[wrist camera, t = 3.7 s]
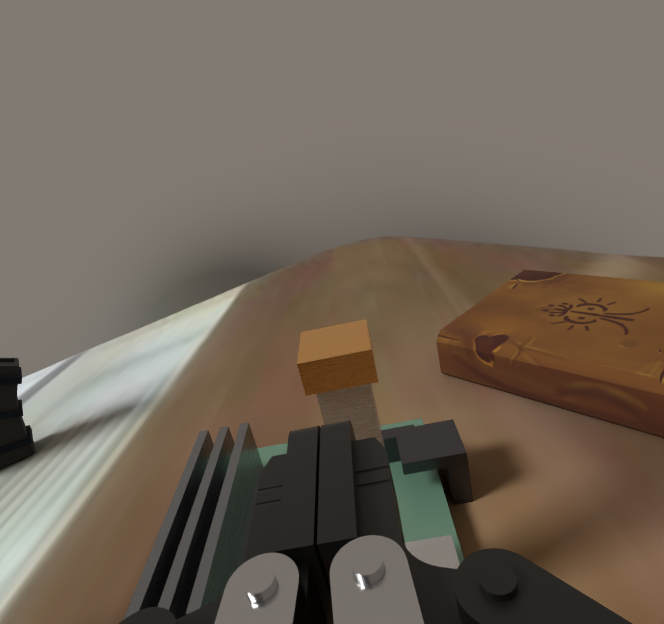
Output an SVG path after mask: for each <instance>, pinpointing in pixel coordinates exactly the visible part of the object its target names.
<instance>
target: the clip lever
mask: <svg viewBox="0 0 664 624" xmlns="http://www.w3.org/2000/svg"><path fill="white" fill-rule="evenodd" d="M297 365H298V369H299V373H300V376H301V380H302V383H303V387H304V391H305V394H306V396H307V395H312V394H317V398H318V402H319V406H320V409H321V413H322V417H323V421H324V424H325V425H327V424H332V423H337V422H342V421H347V420H350V421H351V423H352V427H353V431H354V434H355V438H356V440H361V439H366V438H371V437H375V438H376V439H377V440H378V441H379V442H380V443H381V444H382V445H383V446H384V441H383V436H382V432H381V427H380V422H379V418H378V413H377V408H376V404H375V399H374V394H373V390H372V385H371V383H375V382H378V378H377V372H376V367H375V361H374V356H373V350H372V345H371V340H370V335H369V331H368V326H367V321H366V319H365V320H360V321H355V322H350V323H345V324H340V325H335V326H330V327H325V328H320V329H315V330H310V331H306V332H301V338H300V346H299V353H298V361H297ZM384 448H385V446H384ZM403 535H404V534H403ZM404 540H405V539H404ZM405 546H406V548H407V550H408V551H409V552H410V553H411V554H412V555H413V556H415V557H416V558H417V559H419V560H421V561H423V562H425V563H427V564H430V565H434V566H439V567H446V568H453V569H457V568H458V566H459V565H460V564H459V560H458V557H457V553H456V550H455V546H454V543H453V539H452V536H451V535H448V536H442V537H435V538H429V539H423V540H417V541H411V542H405Z"/></svg>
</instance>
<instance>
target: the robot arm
mask: <svg viewBox="0 0 664 624" xmlns="http://www.w3.org/2000/svg"><path fill="white" fill-rule="evenodd" d="M119 624H632V623H630V622H629V621H627V620H625V619H624V618H622V617H621V616H619V615H617V614H616V613H614V612H612V611H611V610H609V609H608V608H606V607H604V606H603V605H601V604H599V603H598V602H596V601H595V600H593V599H591V598H590V597H588V596H586V595H585V594H583V593H581V592H580V591H578V590H577V589H575V588H573V587H572V586H570V585H568V584H567V583H565V582H564V581H562V580H560V579H559V578H557V577H555V576H554V575H552V574H550V573H549V572H547V571H546V570H544V569H542V568H541V567H539V566H537V565H536V564H534V563H533V562H531V561H529V560H528V559H526V558H524V557H523V556H521V555H519V554H517V553H514V552H512V551H508V550H504V549H484V550H480V551H477V552H475V553H473V554H471V555H469V556H468V557H466V558H465V559H464V560H463V561H462V562H461V564H460V565H459V566H458V568H457V569H453V568H446V567H439V566H434V565H430V564H427V563H425V562H423V561H421V560H419V559H417V558H416V557H415V556H413V555H412V554H411V553H410V552H409V551H408V550H407V548H406V546H405V540H404V535H403V529H402V523H401V518H400V512H399V506H398V501H397V496H396V491H395V487H394V483H393V478H392V474H391V469H390V465H389V461H388V456H387V452H386V449H385V448H384V446H383V445H382V444H381V443H380V442H379V441H378V440H377V439H376V438H375V437H371V438H366V439H361V440H356V438H355V434H354V431H353V427H352V423H351V421H350V420H347V421H342V422H337V423H332V424H327V425H322V426H321V428H320V426H316V427H311V428H305V429H300V430H295V431H290V433H289V438H288V446H287V454H282V455H276V456H272V457H271V458H270V460H269V461H268V463H267V464H266V466H265V467H264V469H263V470H262V472H261V474H260V479H259V484H258V493H257V495H256V500H255V507H254V510H253V515H252V521H251V526H250V531H249V536H248V541H247V546H246V552H245V557H244V562H243V564H242V565H241V566H240V567H239V568H238V569H237V570H236V571H235V572H234V573H233V574H232V576H231V577H230V579H229V581H228V582H227V585H226V587H225V590H224V593H223V594H222V595H221V596H220V597H219V598H217V599H216V600H214V601H213V602H211V603H209V604H207V605H206V606H204V607H202V608H199V609H197V610H195V611H193V612H191V613H189V614H187V615H185V616H183V617H181V618H179V619H177V620H176V619H175V617H174V615H173V614H172V613H171V612H170V611H169V610H167V609H165V608H162V607H150V608H146V609H142V610H140V611H138V612H135V613H134V614H132V615H130V616H128V617H127V618H126V619H124V620H123V621H122V622H120V623H119Z"/></svg>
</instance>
